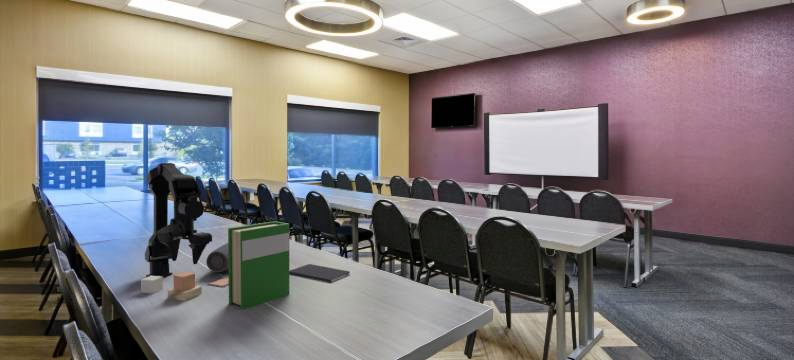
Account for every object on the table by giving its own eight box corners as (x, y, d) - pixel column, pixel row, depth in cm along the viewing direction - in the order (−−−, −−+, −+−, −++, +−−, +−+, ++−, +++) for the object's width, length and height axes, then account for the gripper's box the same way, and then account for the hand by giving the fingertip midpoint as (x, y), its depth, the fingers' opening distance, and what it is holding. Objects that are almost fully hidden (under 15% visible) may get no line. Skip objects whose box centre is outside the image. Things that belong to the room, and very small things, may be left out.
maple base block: (167, 299, 136) (167, 290, 135) (185, 292, 142) (184, 283, 142) (185, 302, 133) (185, 292, 133) (201, 295, 140) (201, 286, 140)
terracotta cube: (173, 288, 137) (173, 275, 137) (185, 284, 141) (185, 271, 141) (183, 290, 135) (182, 277, 135) (195, 286, 139) (194, 273, 139)
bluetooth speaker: (229, 276, 160) (228, 250, 160) (205, 275, 161) (204, 249, 160) (251, 260, 183) (250, 238, 182) (229, 260, 183) (229, 237, 183)
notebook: (287, 275, 165) (330, 284, 154) (287, 271, 165) (331, 279, 154) (309, 267, 176) (351, 275, 166) (309, 263, 176) (351, 271, 165)
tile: (207, 284, 149) (207, 283, 149) (222, 279, 156) (222, 278, 156) (222, 287, 147) (222, 286, 147) (236, 281, 153) (236, 280, 153)
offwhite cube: (141, 292, 140) (141, 279, 140) (150, 288, 145) (150, 275, 144) (153, 293, 140) (153, 280, 139) (162, 289, 144) (162, 276, 144)
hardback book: (242, 309, 127) (242, 231, 125) (228, 304, 131) (228, 228, 130) (289, 294, 141) (289, 223, 139) (275, 289, 145) (275, 221, 144)
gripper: (140, 216, 132) (141, 265, 133) (183, 220, 125) (184, 272, 126) (171, 212, 142) (172, 257, 143) (213, 215, 135) (213, 263, 136)
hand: (184, 262), depth 137 cm, fingers open, 9 cm apart
